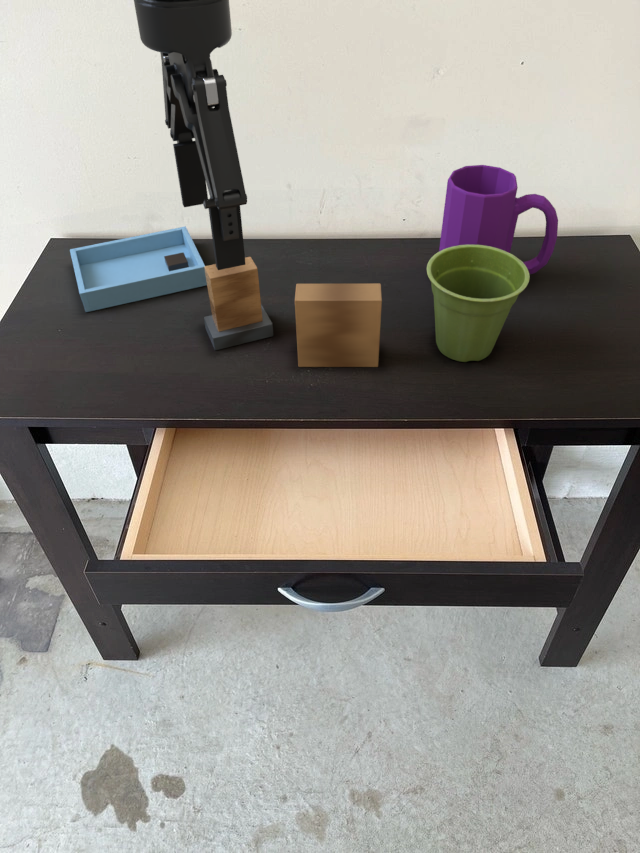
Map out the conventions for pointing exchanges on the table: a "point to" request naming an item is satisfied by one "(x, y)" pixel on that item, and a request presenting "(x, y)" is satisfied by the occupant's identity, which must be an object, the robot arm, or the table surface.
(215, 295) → the brush
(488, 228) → the mug
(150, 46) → the robot arm
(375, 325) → the square wooden block
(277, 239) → the table surface
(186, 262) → the dark grey flat block
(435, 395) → the table surface
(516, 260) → the plant pot
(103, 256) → the pan
